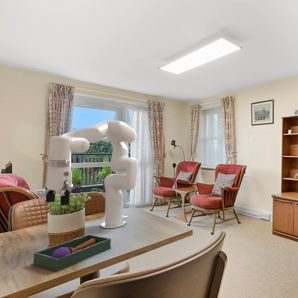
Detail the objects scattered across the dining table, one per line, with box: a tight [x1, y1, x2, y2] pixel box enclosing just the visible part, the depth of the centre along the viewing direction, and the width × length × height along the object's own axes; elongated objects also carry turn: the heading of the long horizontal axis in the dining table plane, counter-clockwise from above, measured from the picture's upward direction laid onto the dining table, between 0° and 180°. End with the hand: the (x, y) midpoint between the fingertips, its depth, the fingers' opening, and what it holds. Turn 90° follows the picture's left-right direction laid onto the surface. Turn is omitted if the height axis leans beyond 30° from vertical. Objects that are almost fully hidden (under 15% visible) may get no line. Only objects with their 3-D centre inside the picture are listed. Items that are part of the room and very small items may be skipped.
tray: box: [32, 233, 112, 272], centre depth 100 cm, size 23×14×5 cm, turn 161°
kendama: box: [52, 239, 96, 259], centre depth 100 cm, size 6×6×20 cm
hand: (57, 203), depth 100 cm, fingers open, 9 cm apart
